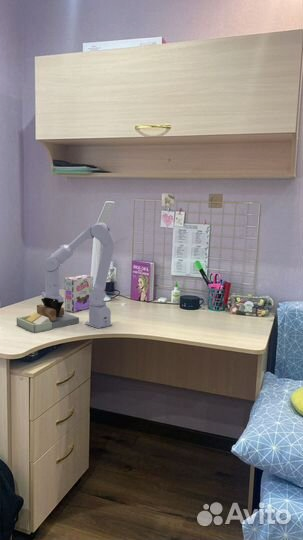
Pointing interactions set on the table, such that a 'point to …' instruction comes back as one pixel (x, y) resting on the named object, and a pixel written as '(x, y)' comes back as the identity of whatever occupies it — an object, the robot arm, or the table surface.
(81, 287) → the candy box
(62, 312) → the scraper
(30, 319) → the tile mustard
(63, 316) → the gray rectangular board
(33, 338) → the table surface
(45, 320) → the tile ivory
